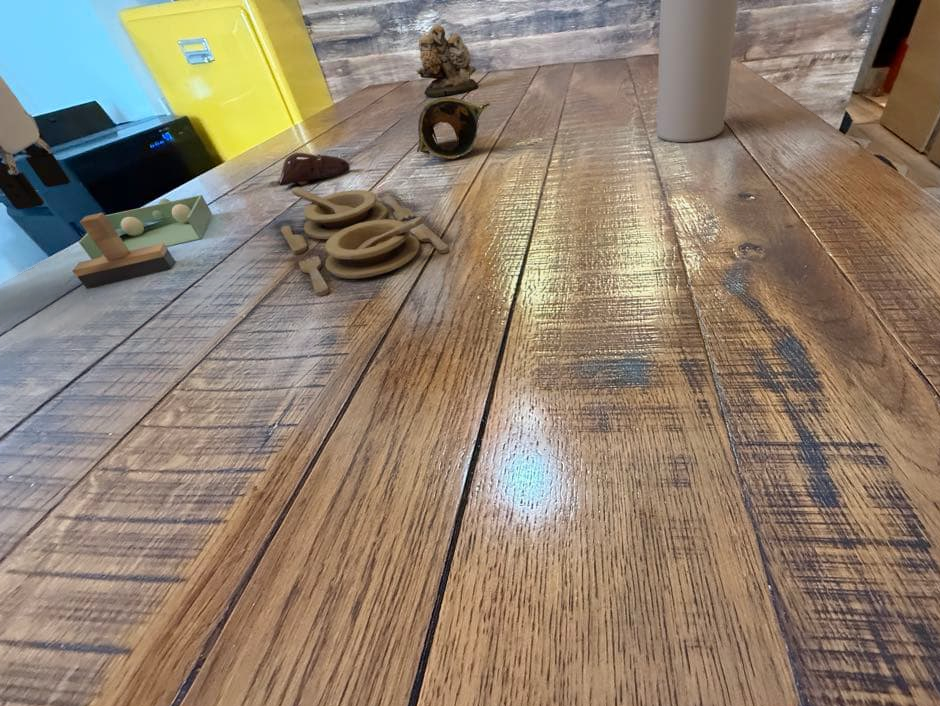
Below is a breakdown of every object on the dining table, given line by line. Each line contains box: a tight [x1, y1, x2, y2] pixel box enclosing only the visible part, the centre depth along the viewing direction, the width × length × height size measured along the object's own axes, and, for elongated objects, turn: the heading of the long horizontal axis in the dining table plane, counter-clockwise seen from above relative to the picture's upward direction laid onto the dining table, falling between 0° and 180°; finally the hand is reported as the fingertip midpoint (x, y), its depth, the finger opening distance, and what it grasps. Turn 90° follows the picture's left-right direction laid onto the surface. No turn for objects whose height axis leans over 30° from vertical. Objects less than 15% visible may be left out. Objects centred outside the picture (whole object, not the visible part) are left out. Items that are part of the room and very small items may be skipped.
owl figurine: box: [416, 24, 479, 98], centre depth 153 cm, size 18×12×17 cm, turn 115°
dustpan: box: [78, 194, 213, 260], centre depth 91 cm, size 19×17×4 cm
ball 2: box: [172, 204, 191, 223], centre depth 92 cm, size 3×3×3 cm
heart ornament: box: [279, 151, 351, 187], centre depth 104 cm, size 6×12×11 cm
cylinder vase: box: [655, 0, 739, 143], centre depth 91 cm, size 12×12×25 cm
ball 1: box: [120, 217, 145, 236], centre depth 90 cm, size 3×3×3 cm
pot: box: [416, 96, 491, 160], centre depth 106 cm, size 17×11×18 cm
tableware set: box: [280, 186, 450, 297], centre depth 76 cm, size 30×20×6 cm, turn 30°
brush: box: [71, 212, 176, 290], centre depth 75 cm, size 12×3×9 cm, turn 109°
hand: (45, 195), depth 71 cm, fingers open, 9 cm apart
